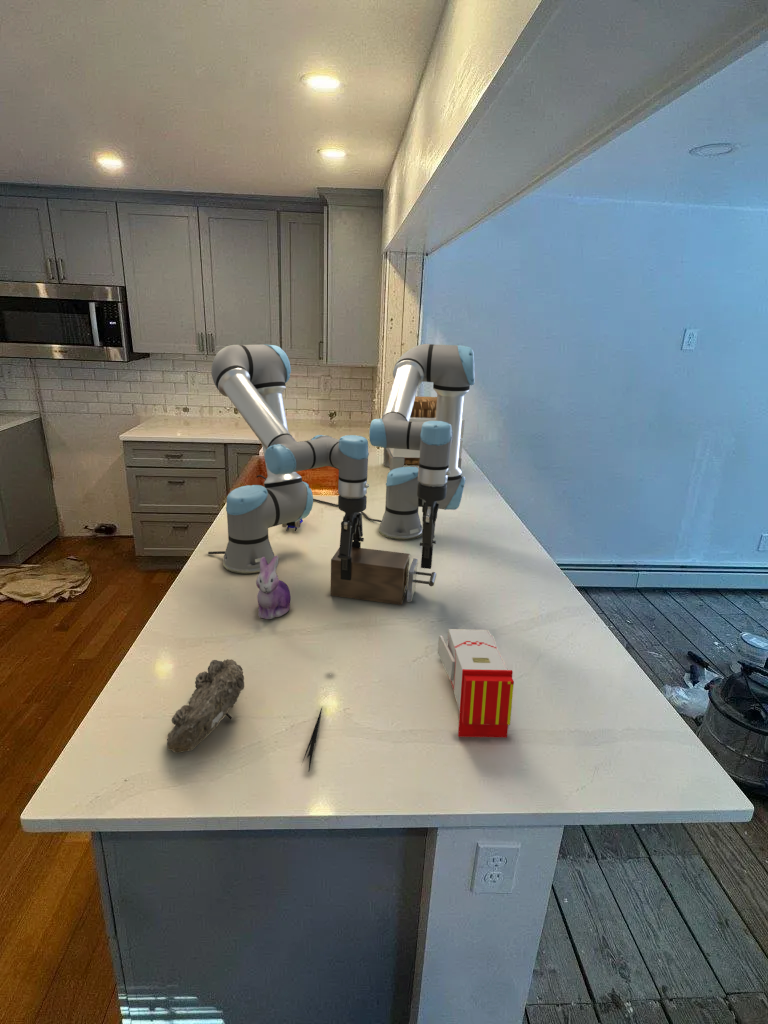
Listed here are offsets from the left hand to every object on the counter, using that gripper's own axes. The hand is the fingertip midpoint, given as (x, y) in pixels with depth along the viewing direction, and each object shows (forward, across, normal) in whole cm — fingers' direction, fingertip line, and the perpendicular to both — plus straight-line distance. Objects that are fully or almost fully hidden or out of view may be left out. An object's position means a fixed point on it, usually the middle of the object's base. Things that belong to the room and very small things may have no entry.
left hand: (350, 570), depth 157 cm
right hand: (-4, 0, -21) cm, 21 cm away
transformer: (+6, +126, -3) cm, 126 cm away
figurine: (+6, -17, +16) cm, 24 cm away
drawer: (+5, 0, -11) cm, 12 cm away
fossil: (+6, -58, +12) cm, 59 cm away
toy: (+6, -38, -35) cm, 52 cm away
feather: (+6, -53, -8) cm, 54 cm away
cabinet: (+6, 0, -6) cm, 8 cm away
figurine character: (+6, +41, +31) cm, 52 cm away
